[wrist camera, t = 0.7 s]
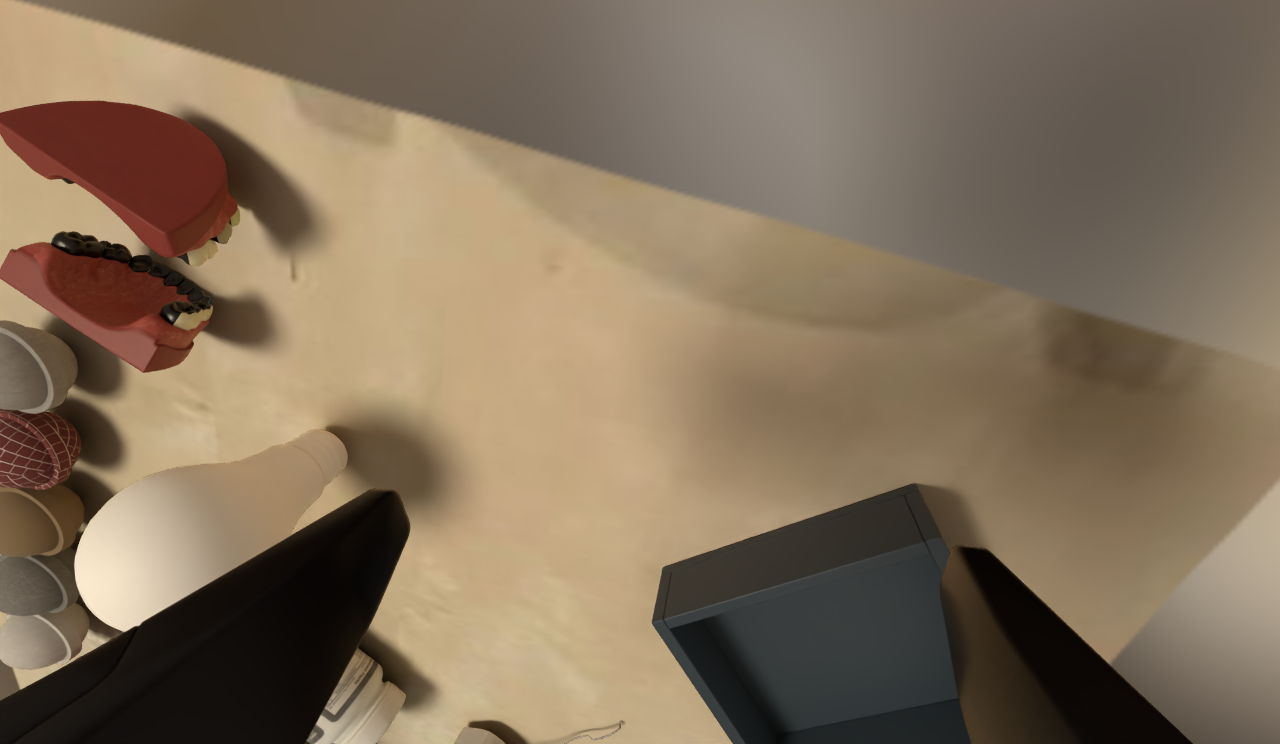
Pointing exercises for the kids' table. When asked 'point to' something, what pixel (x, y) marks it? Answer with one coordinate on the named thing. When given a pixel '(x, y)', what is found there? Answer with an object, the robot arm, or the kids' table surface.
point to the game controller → (494, 737)
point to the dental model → (146, 201)
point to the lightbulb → (197, 526)
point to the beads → (37, 502)
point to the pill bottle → (358, 705)
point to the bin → (821, 629)
